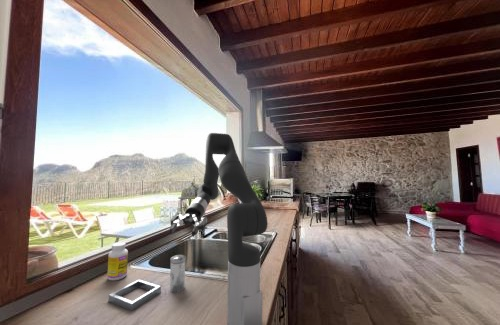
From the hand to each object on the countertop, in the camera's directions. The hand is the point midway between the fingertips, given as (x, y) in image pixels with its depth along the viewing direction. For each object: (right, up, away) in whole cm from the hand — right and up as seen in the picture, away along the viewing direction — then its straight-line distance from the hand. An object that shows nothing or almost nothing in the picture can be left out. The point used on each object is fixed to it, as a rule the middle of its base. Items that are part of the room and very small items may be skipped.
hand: (182, 233), depth 81 cm
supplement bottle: (-27, -19, +3) cm, 33 cm away
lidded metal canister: (0, -18, -5) cm, 19 cm away
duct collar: (-12, -18, -10) cm, 24 cm away
